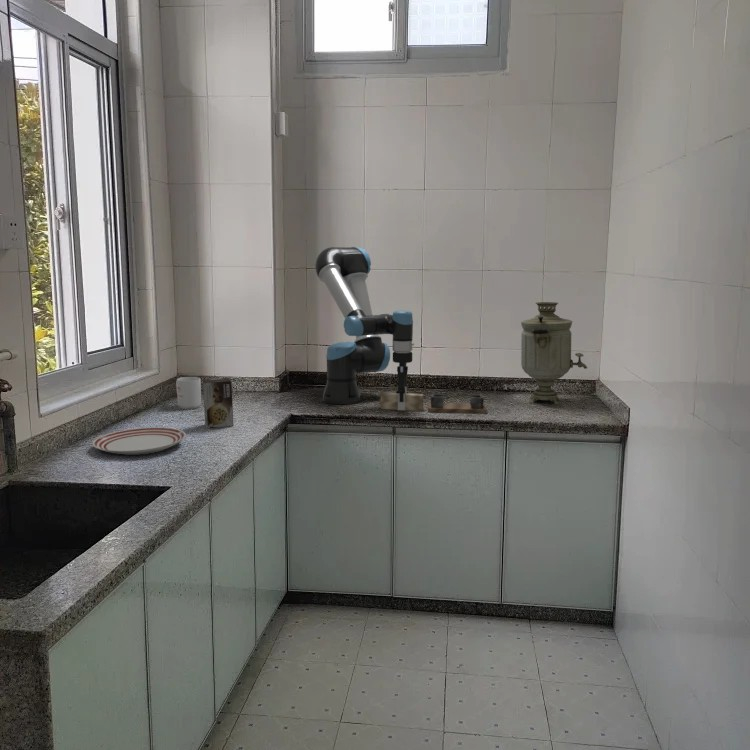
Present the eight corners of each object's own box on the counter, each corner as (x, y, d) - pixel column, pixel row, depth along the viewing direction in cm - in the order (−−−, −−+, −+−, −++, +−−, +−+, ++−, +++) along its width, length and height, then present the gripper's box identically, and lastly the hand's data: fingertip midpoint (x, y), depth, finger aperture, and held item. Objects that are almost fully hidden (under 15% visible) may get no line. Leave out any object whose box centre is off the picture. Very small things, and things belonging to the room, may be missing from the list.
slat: (380, 409, 276) (380, 393, 275) (382, 407, 279) (382, 392, 278) (421, 411, 273) (422, 395, 272) (423, 409, 276) (423, 394, 275)
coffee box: (230, 422, 253) (229, 377, 250) (233, 426, 247) (232, 380, 245) (204, 424, 250) (202, 378, 247) (206, 428, 244) (205, 382, 241)
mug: (206, 407, 277) (205, 378, 275) (186, 410, 271) (185, 381, 269) (187, 402, 285) (186, 375, 283) (168, 406, 278) (167, 378, 276)
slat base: (427, 412, 270) (428, 397, 269) (428, 406, 280) (428, 392, 279) (486, 413, 269) (487, 399, 268) (484, 407, 278) (485, 393, 277)
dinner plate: (88, 463, 205) (87, 452, 204) (96, 439, 231) (96, 429, 230) (187, 456, 212) (187, 445, 212) (185, 433, 238) (184, 423, 238)
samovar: (566, 413, 269) (572, 307, 263) (503, 404, 285) (507, 303, 278) (595, 400, 293) (601, 302, 286) (535, 392, 308) (539, 299, 302)
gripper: (411, 356, 260) (411, 413, 263) (413, 347, 284) (413, 400, 288) (390, 356, 260) (390, 413, 264) (394, 347, 285) (394, 399, 288)
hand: (402, 406), depth 276 cm, fingers open, 13 cm apart
